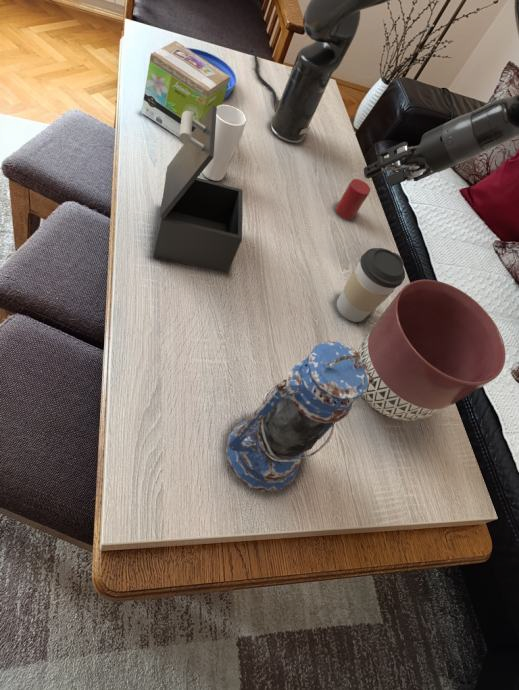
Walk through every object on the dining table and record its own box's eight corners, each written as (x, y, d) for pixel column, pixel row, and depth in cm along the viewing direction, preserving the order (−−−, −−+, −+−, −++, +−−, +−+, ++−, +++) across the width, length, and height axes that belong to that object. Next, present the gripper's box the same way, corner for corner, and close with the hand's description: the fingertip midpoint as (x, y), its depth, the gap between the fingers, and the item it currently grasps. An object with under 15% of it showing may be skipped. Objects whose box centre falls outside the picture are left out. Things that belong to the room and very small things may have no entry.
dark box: (229, 225, 106) (242, 189, 98) (227, 273, 98) (242, 238, 91) (160, 208, 102) (168, 169, 94) (152, 257, 94) (161, 219, 87)
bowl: (169, 95, 124) (171, 81, 121) (162, 54, 133) (164, 41, 130) (238, 108, 131) (242, 96, 128) (227, 69, 140) (230, 56, 137)
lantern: (296, 413, 86) (386, 311, 62) (317, 483, 80) (425, 400, 56) (210, 422, 80) (274, 312, 56) (226, 498, 74) (304, 412, 50)
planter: (440, 438, 93) (525, 384, 76) (349, 441, 86) (420, 382, 69) (408, 349, 103) (477, 284, 86) (324, 345, 96) (380, 274, 79)
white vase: (192, 173, 111) (209, 113, 99) (205, 159, 115) (222, 99, 103) (219, 188, 111) (239, 130, 99) (231, 173, 115) (251, 116, 104)
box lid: (217, 107, 84) (191, 89, 82) (213, 157, 77) (185, 139, 74) (170, 168, 94) (146, 154, 92) (163, 218, 87) (137, 204, 84)
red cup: (334, 202, 122) (349, 176, 116) (353, 207, 124) (368, 182, 117) (336, 216, 119) (352, 190, 113) (355, 221, 121) (371, 196, 114)
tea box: (139, 114, 116) (148, 51, 105) (164, 99, 122) (175, 38, 111) (193, 149, 116) (209, 89, 104) (215, 132, 122) (232, 74, 110)
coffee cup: (345, 330, 100) (384, 283, 89) (323, 295, 104) (358, 245, 92) (378, 321, 105) (419, 275, 93) (356, 287, 108) (393, 239, 96)
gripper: (467, 132, 95) (392, 167, 106) (432, 111, 85) (353, 151, 96) (474, 170, 94) (398, 201, 106) (439, 153, 84) (359, 189, 96)
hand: (377, 177), depth 101 cm, fingers open, 8 cm apart
